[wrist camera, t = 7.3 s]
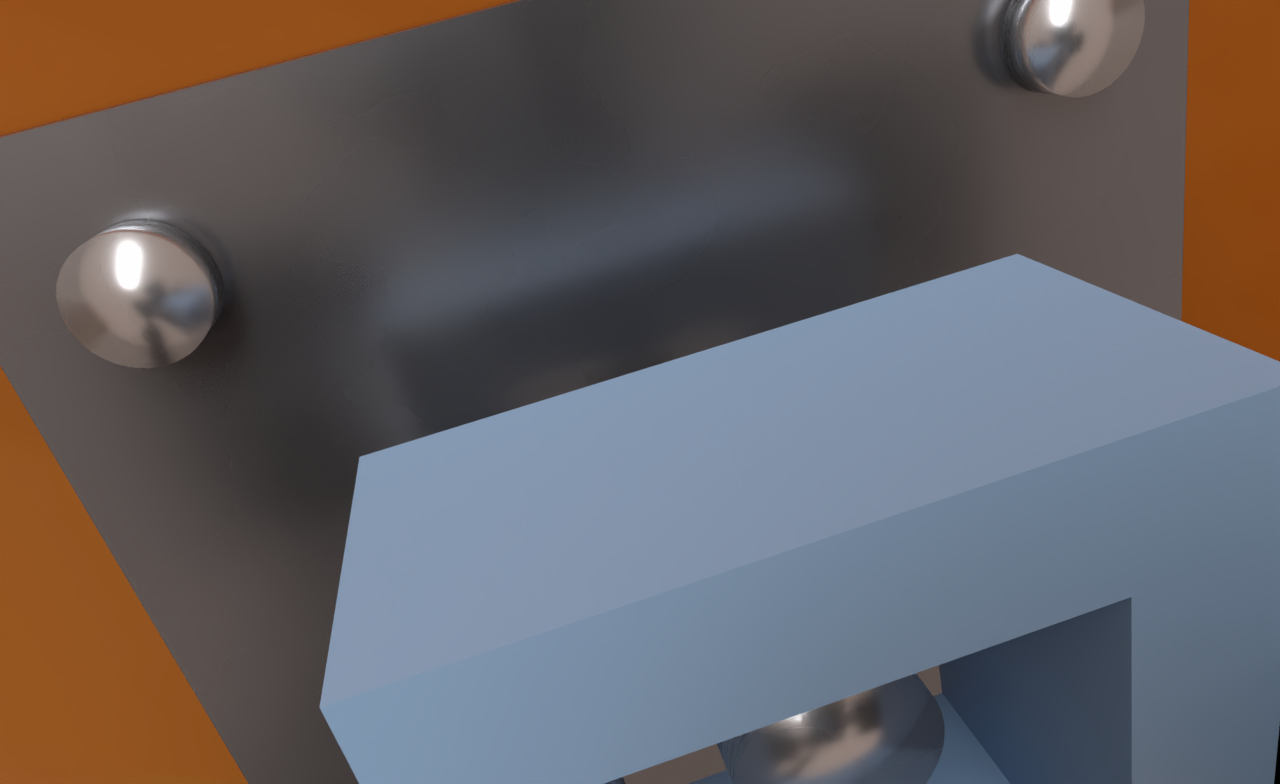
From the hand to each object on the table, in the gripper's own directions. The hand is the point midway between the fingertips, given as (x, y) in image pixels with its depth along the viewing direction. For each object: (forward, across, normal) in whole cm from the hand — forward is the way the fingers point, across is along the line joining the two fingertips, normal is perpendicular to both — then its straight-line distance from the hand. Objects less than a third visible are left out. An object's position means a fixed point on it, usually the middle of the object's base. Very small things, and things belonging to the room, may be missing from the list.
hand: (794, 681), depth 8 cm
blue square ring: (+1, 0, 0) cm, 1 cm away
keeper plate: (+4, 0, 0) cm, 4 cm away
